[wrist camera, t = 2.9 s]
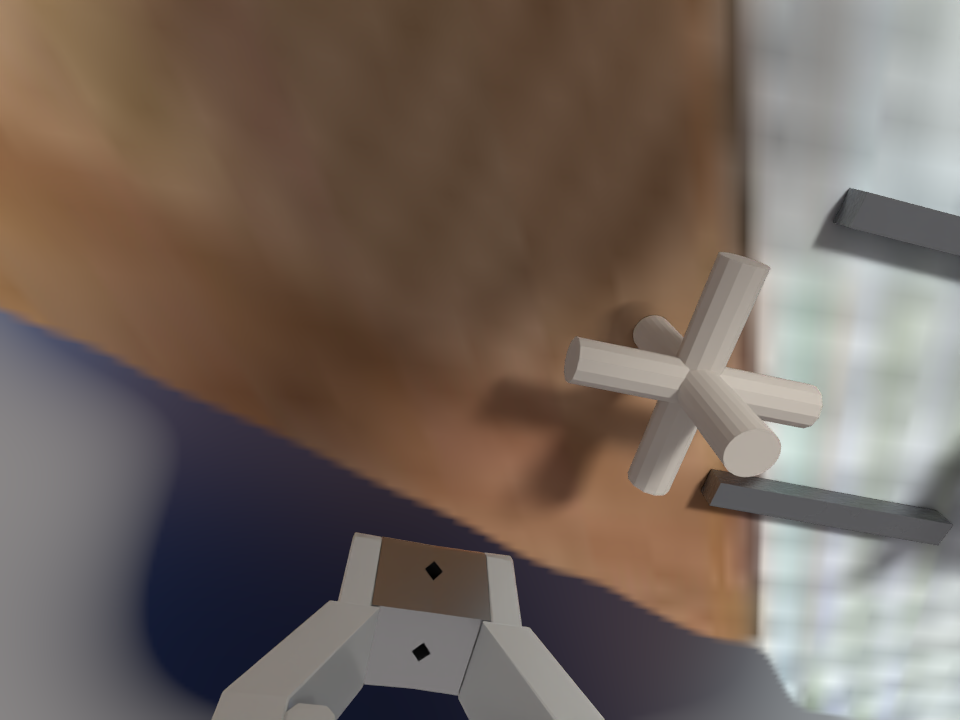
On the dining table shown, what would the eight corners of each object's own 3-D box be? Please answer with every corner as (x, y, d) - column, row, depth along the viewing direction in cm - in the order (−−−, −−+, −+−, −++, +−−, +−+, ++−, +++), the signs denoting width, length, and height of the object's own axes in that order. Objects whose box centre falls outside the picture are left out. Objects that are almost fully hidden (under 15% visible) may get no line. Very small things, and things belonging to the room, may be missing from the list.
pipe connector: (707, 438, 29) (819, 589, 20) (524, 404, 28) (556, 549, 19) (793, 254, 25) (980, 341, 16) (584, 204, 24) (661, 269, 15)
